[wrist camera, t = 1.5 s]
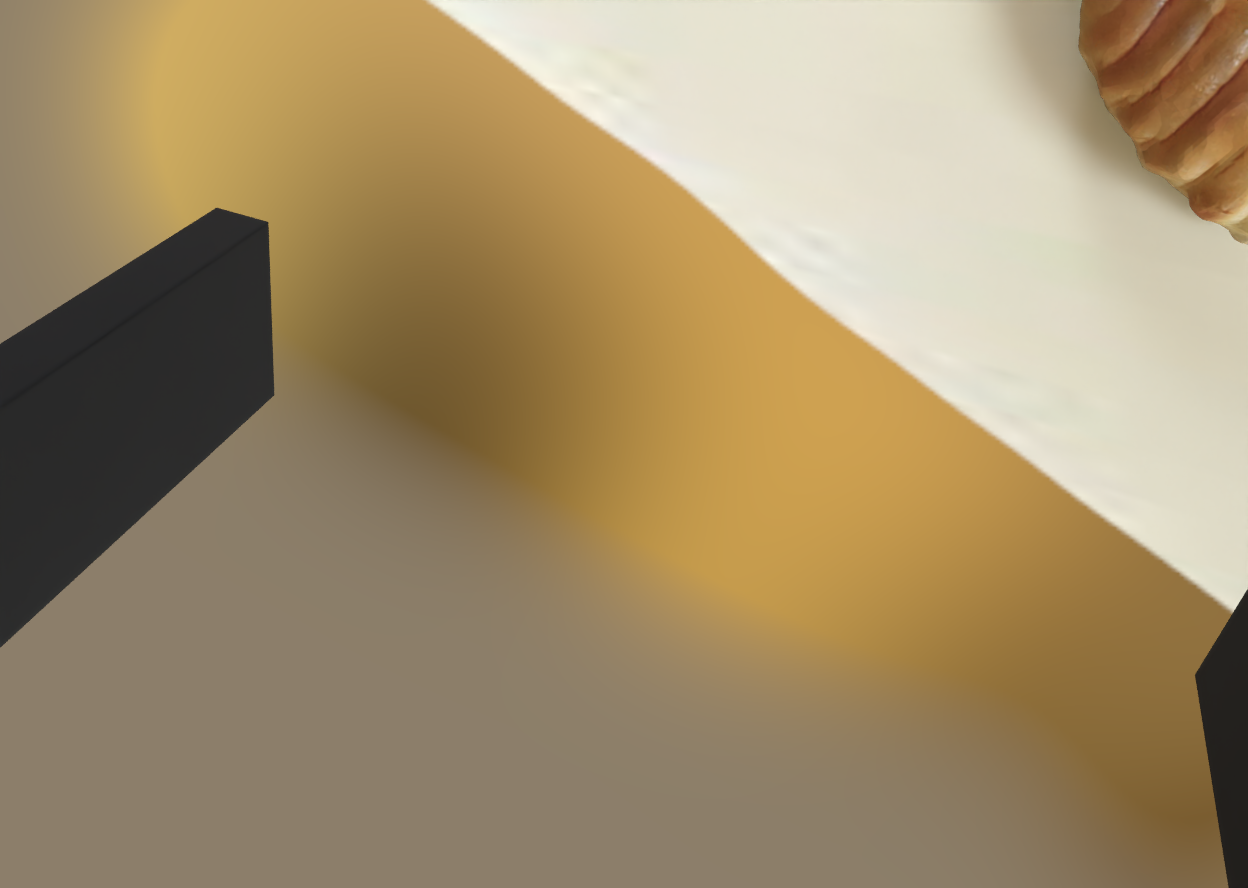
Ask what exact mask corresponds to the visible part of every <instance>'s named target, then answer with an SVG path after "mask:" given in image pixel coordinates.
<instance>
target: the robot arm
mask: <svg viewBox="0 0 1248 888" xmlns="http://www.w3.org/2000/svg"><path fill="white" fill-rule="evenodd" d="M268 229H269V228H268V222H266V221H263V220H259V219H255V218H252V217H248V216H245V215H241V214H237V213H233V212H230V211H227V210H223V209H219V208H215V209H214V210H212V211H211V212H209V213H207V214H206V215H204V216H203V217H201V218H200V219H198V220H197V221H195V222H193V223H192V224H190V225H188V226H187V227H185V228H184V229H182V230H180V231H179V232H178V233H176V234H174V235H173V236H171V237H169V238H168V239H166V240H165V241H163V242H161V243H160V244H158V245H157V246H155V247H154V248H152V249H150V250H149V251H147V252H146V253H144V254H142V255H141V256H139V257H138V258H136V259H134V260H133V261H131V262H130V263H128V264H127V265H125V266H123V267H122V268H120V269H119V270H117V271H115V272H114V273H112V274H111V275H109V276H108V277H106V278H104V279H103V280H101V281H99V282H98V283H96V284H95V285H93V286H92V287H90V288H88V289H87V290H85V291H84V292H82V293H80V294H79V295H77V296H76V297H74V298H72V299H71V300H69V301H68V302H66V303H64V304H63V305H61V306H60V307H58V308H57V309H55V310H53V311H52V312H51V313H49V314H47V315H45V316H44V317H42V318H41V319H39V320H37V321H36V322H35V323H33V324H31V325H30V326H28V327H26V328H25V329H23V330H22V331H20V332H18V333H17V334H15V335H14V336H12V337H11V338H9V339H7V340H6V341H4V342H3V343H1V344H0V647H1V646H3V644H5V643H6V642H7V641H8V640H9V639H10V638H11V637H12V636H13V635H14V634H16V632H17V631H19V630H20V629H21V628H22V627H23V626H24V625H25V624H26V623H27V622H29V621H30V620H31V619H32V618H33V617H34V616H35V615H36V614H37V613H38V612H39V611H40V610H41V609H43V608H44V607H45V606H46V605H47V604H48V603H49V602H50V601H51V600H52V599H54V598H55V597H56V596H57V595H58V594H59V593H60V592H61V591H62V590H63V589H64V588H65V587H66V586H68V585H69V584H70V583H71V582H72V581H73V580H74V579H75V578H76V577H77V576H78V575H80V574H81V573H82V572H83V571H84V570H85V569H86V568H87V567H88V566H89V565H90V564H91V563H93V561H95V560H96V559H97V558H98V557H99V556H100V555H101V554H102V553H103V552H104V551H105V550H107V549H108V548H109V547H110V546H111V545H112V544H113V543H114V542H115V541H116V540H118V539H119V538H120V537H121V536H122V535H123V534H124V533H125V532H126V531H127V530H128V529H129V528H131V527H132V526H133V525H134V524H135V523H136V522H137V521H138V520H139V519H140V518H141V517H142V516H144V515H145V514H146V513H147V512H148V511H149V510H150V509H151V508H152V507H153V506H154V505H156V504H157V502H159V501H160V500H161V499H162V498H163V497H164V496H165V495H166V494H167V493H169V491H171V490H172V489H173V488H174V487H175V486H176V485H177V484H178V483H179V482H180V481H182V480H183V479H184V478H185V477H186V476H187V475H188V474H189V473H190V472H191V471H192V470H194V468H195V467H197V466H198V465H199V464H200V463H201V462H202V461H203V460H204V459H205V458H207V457H208V456H209V455H210V454H211V453H212V452H213V451H214V450H215V449H216V448H217V447H218V446H219V445H221V444H222V443H223V442H224V441H225V440H226V439H227V438H228V437H229V436H230V435H231V434H233V433H234V432H235V431H236V430H237V429H238V428H239V427H240V426H241V425H242V424H243V423H245V422H246V421H247V420H248V419H249V418H250V417H251V416H252V415H253V414H254V413H255V412H256V411H258V410H259V409H260V408H261V407H262V406H263V405H264V404H265V403H266V402H267V401H268V400H269V399H271V398H272V397H273V396H274V374H273V346H272V317H271V286H270V257H269V230H268ZM1195 678H1196V684H1197V690H1198V697H1199V703H1200V709H1201V715H1202V722H1203V728H1204V735H1205V741H1206V747H1207V753H1208V760H1209V766H1210V772H1211V778H1212V785H1213V792H1214V798H1215V804H1216V810H1217V817H1218V823H1219V829H1220V836H1221V842H1222V848H1223V855H1224V861H1225V867H1226V874H1227V879H1228V886H1229V888H1248V589H1247V591H1246V593H1245V594H1244V596H1243V597H1242V599H1241V601H1240V602H1239V604H1238V606H1237V607H1236V609H1235V611H1234V612H1233V614H1232V615H1231V617H1230V619H1229V620H1228V622H1227V624H1226V625H1225V627H1224V628H1223V630H1222V632H1221V634H1220V635H1219V637H1218V638H1217V640H1216V642H1215V643H1214V645H1213V646H1212V648H1211V650H1210V651H1209V653H1208V655H1207V656H1206V658H1205V659H1204V661H1203V663H1202V664H1201V666H1200V668H1199V669H1198V671H1197V673H1196V674H1195Z"/></svg>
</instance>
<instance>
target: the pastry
mask: <svg viewBox="0 0 1248 888" xmlns="http://www.w3.org/2000/svg"><path fill="white" fill-rule="evenodd" d="M1078 47H1079V51H1080V54H1081V55H1082V57H1083V59H1084V60H1085V62H1086V63H1087V66H1088V68H1089V70H1090V71H1091V72H1092V74H1093V75H1094V76H1095V78H1096V81H1097V83H1098V88H1099V92H1100V96H1101V97H1102V99H1104V103H1105V105H1106V107H1107V109H1108V111H1109V112H1110V113H1111V114H1112V115H1113V117H1114V118H1115V119H1116V120H1117V121H1118V122H1119V124H1120V125H1121V126H1122V128H1123V129H1124V131H1125V132H1126V133H1127V134H1128V135H1129V136H1130V137H1131V138H1132V140H1133V142H1134V144H1135V146H1136V149H1137V156H1138V158H1139V160H1140V162H1141V165H1142V167H1143V168H1145V169H1147V170H1148V171H1150V172H1152V173H1154V174H1157V175H1160V176H1162V177H1163V178H1165V179H1166V180H1167V181H1168V182H1169V183H1170V184H1171V185H1172V186H1173V187H1175V188H1176V189H1177V190H1178V191H1180V192H1181V193H1182V194H1183V195H1185V196H1186V197H1187V198H1188V199H1189V204H1190V207H1191V209H1192V210H1193V211H1194V212H1195V213H1196V214H1197V215H1198V216H1199V217H1200V218H1202V219H1203V220H1206V221H1212V222H1215V223H1218V224H1220V225H1222V226H1223V227H1225V228H1226V229H1228V230H1229V232H1230V234H1231V235H1232V237H1233V238H1234V239H1235V240H1236V241H1238V242H1240V243H1244V244H1248V0H1082V5H1081V9H1080V34H1079V45H1078Z"/></svg>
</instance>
